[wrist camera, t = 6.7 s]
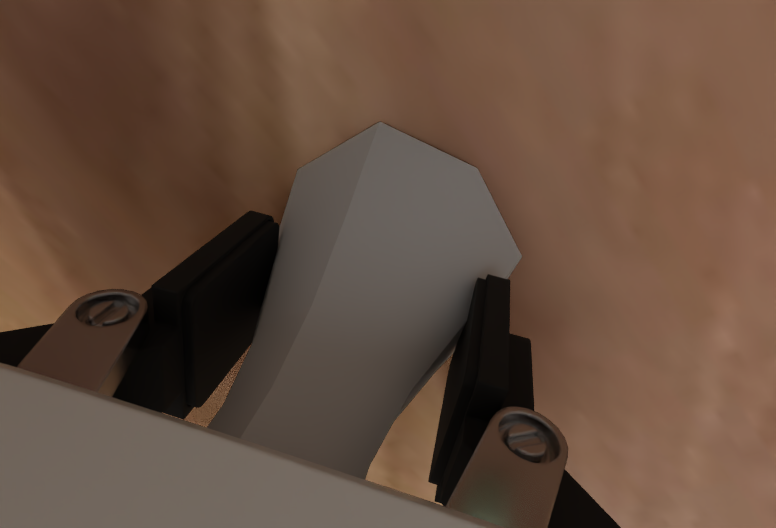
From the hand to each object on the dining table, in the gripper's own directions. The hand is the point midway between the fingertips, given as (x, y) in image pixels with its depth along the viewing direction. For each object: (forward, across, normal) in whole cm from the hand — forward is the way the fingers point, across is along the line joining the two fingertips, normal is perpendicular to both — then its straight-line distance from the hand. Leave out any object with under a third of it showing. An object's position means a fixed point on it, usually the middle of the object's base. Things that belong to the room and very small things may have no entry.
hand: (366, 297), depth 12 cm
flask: (+3, 0, 0) cm, 3 cm away
